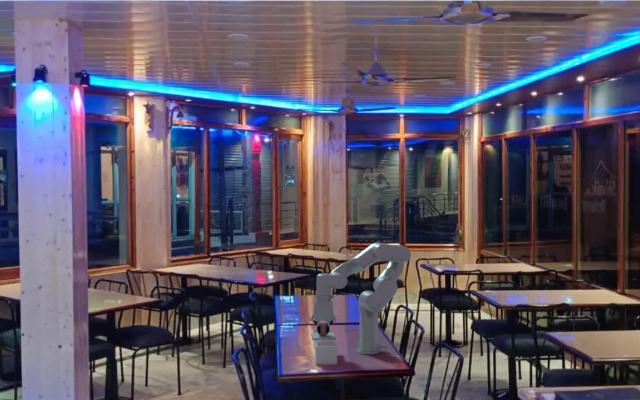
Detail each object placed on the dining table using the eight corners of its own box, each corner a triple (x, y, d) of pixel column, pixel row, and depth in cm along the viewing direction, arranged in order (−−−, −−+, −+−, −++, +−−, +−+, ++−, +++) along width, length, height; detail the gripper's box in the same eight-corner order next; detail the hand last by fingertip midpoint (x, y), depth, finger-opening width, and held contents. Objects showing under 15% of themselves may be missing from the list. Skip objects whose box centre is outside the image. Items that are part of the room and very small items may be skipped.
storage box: (334, 359, 303) (335, 341, 303) (336, 365, 293) (337, 346, 293) (314, 359, 303) (314, 341, 302) (316, 365, 293) (316, 346, 292)
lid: (333, 334, 318) (333, 322, 318) (335, 340, 306) (335, 327, 306) (311, 334, 317) (311, 322, 317) (312, 340, 305) (312, 327, 305)
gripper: (339, 296, 316) (338, 331, 316) (307, 296, 314) (306, 331, 315) (340, 299, 308) (340, 335, 309) (307, 299, 307) (307, 335, 307)
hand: (323, 333), depth 312 cm, fingers closed on lid, 3 cm apart
